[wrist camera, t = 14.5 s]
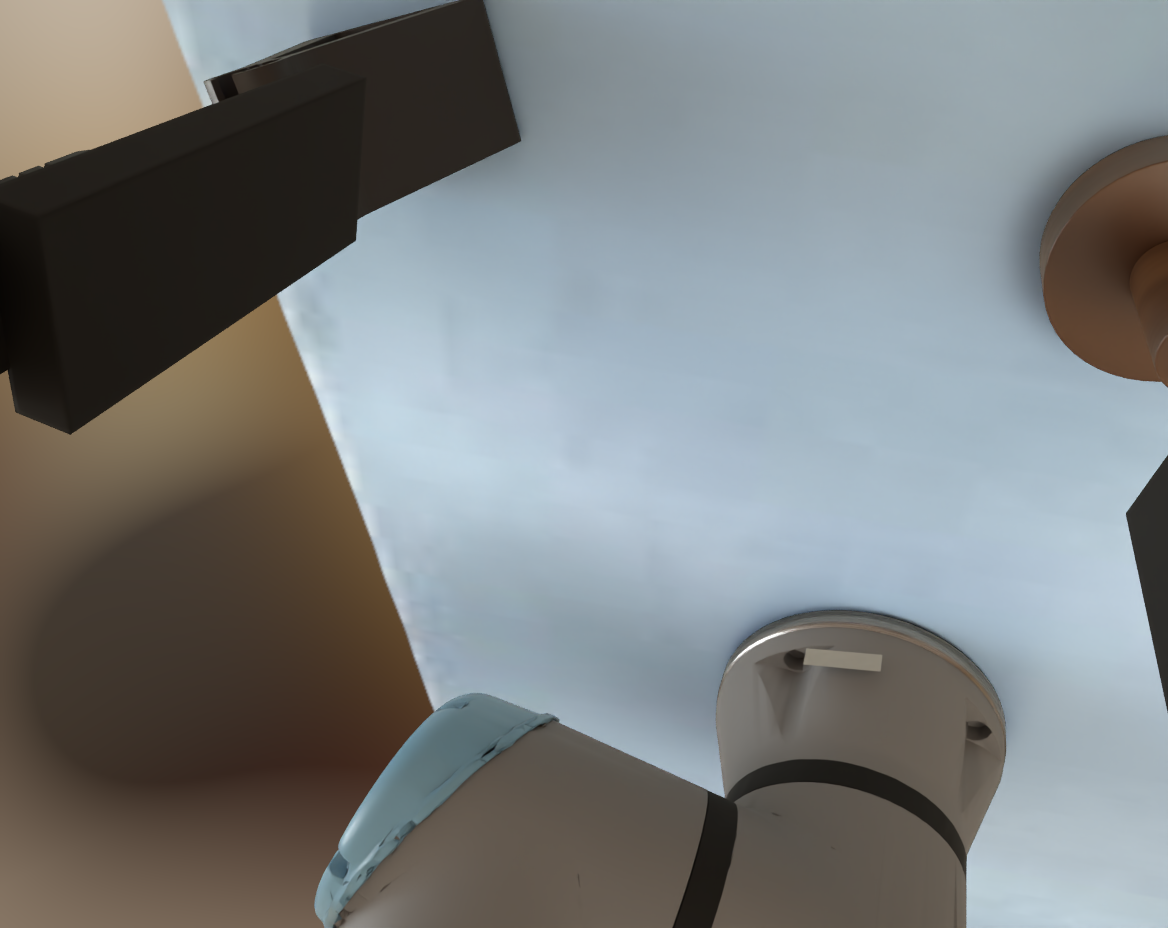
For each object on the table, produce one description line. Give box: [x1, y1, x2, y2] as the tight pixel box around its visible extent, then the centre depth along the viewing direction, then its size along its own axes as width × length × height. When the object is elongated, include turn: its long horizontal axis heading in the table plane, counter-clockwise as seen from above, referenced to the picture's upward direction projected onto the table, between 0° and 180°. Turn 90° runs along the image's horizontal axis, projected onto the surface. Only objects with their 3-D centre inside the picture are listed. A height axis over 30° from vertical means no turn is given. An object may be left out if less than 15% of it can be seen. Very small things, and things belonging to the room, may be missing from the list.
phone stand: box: [204, 0, 521, 220], centre depth 38 cm, size 9×6×12 cm, turn 105°
